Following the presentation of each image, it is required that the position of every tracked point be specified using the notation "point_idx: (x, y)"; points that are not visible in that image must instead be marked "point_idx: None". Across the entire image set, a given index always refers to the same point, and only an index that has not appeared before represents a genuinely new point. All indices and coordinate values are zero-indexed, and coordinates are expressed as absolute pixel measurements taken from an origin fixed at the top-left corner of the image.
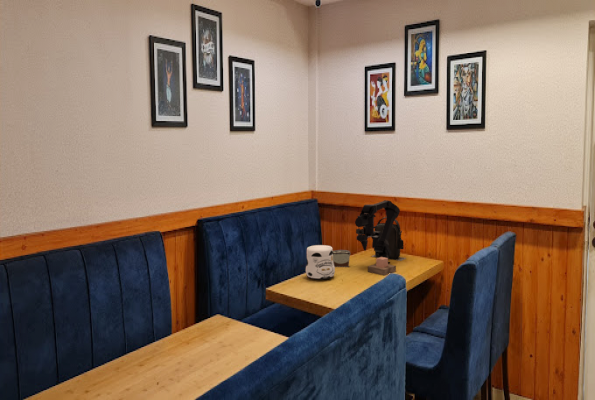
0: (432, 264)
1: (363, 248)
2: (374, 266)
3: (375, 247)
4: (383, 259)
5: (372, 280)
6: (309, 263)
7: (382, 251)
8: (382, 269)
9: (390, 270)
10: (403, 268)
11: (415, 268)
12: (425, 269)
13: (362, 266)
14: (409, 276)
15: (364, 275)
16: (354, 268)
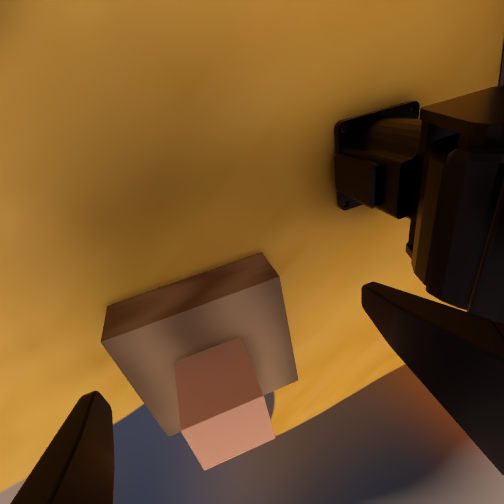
0: None
1: (53, 444)
2: (158, 360)
3: (464, 178)
4: (215, 465)
5: (38, 459)
6: None
7: (414, 269)
8: (165, 430)
9: None
10: (355, 318)
11: None
12: (401, 361)
13: (157, 123)
14: None
15: (28, 371)
16: (19, 140)
